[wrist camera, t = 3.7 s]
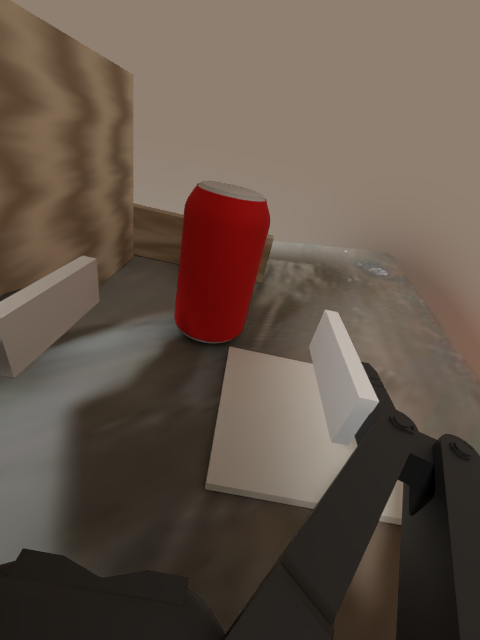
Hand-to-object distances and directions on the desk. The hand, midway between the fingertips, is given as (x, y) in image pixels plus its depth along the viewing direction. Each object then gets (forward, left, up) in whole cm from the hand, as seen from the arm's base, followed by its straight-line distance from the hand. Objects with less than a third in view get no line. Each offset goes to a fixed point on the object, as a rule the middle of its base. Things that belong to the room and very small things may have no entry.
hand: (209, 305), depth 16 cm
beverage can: (-3, +6, -7) cm, 10 cm away
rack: (-8, +8, -7) cm, 13 cm away
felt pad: (+7, +1, -7) cm, 10 cm away
